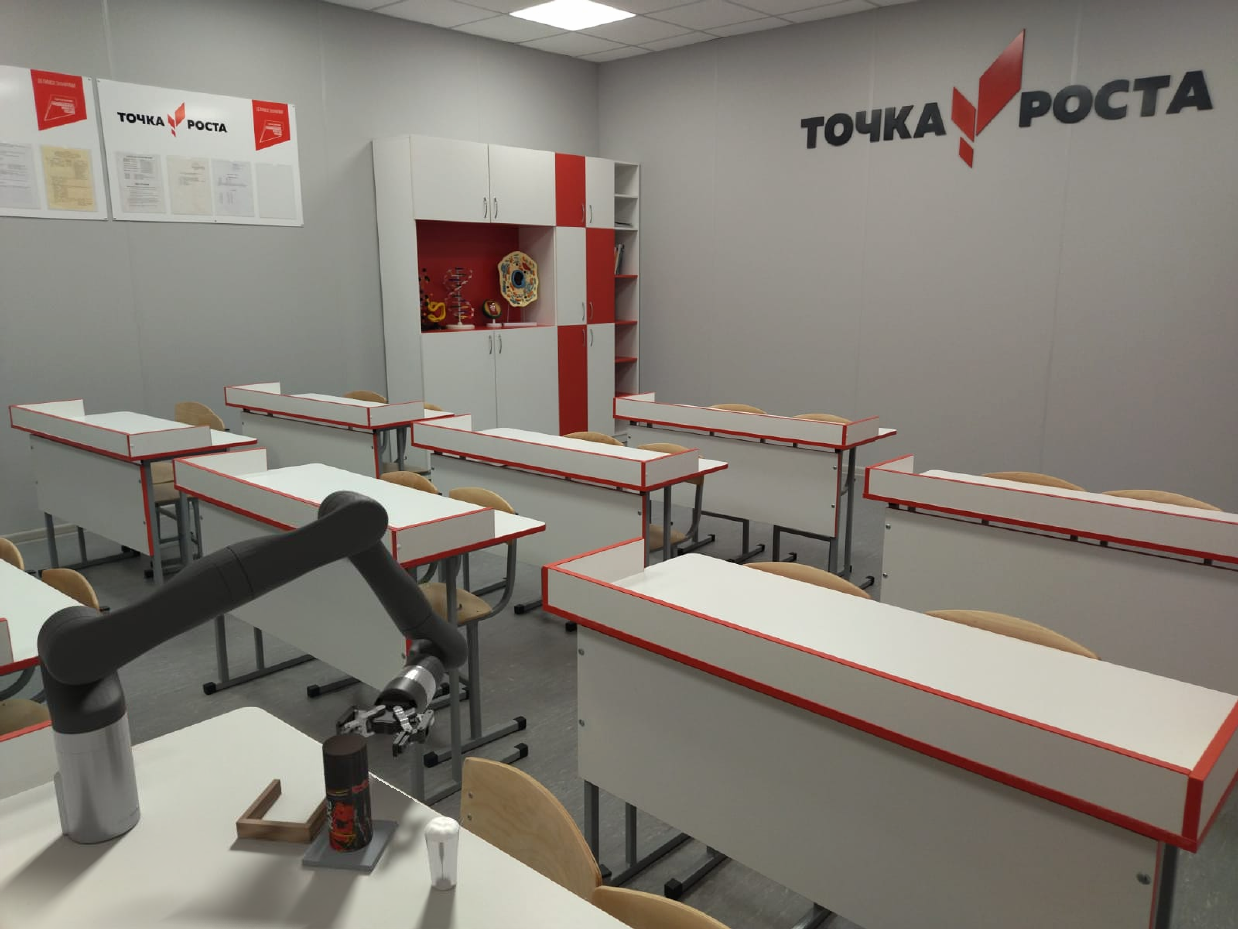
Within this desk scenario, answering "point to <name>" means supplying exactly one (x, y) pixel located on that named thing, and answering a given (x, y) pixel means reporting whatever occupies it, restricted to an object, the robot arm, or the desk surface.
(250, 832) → the walnut bay
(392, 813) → the desk surface
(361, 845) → the deodorant
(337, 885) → the desk surface
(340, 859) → the pad
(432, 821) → the milkshake
